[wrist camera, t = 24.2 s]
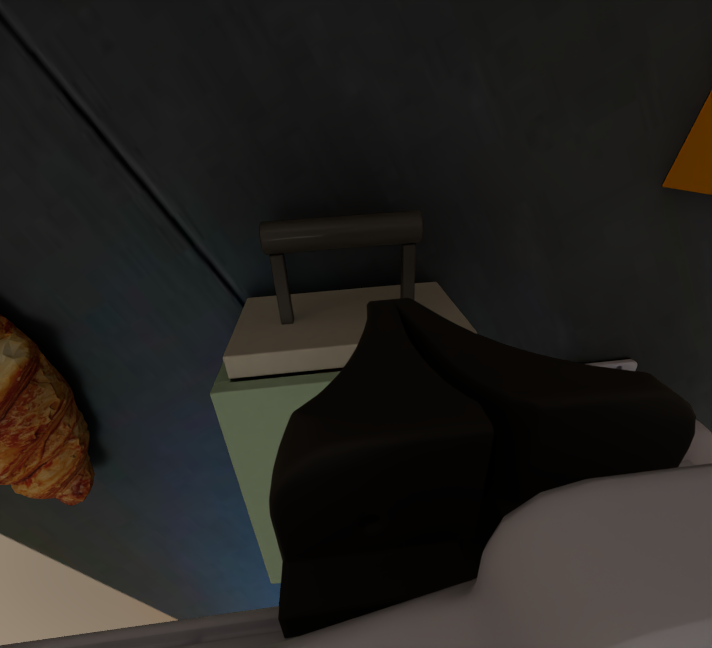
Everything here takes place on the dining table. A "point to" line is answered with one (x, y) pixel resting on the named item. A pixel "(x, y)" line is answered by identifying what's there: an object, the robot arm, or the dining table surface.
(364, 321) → the cream drawer
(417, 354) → the robot arm
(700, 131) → the orange juice
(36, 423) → the croissant
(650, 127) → the dining table surface
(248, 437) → the green drawer box
